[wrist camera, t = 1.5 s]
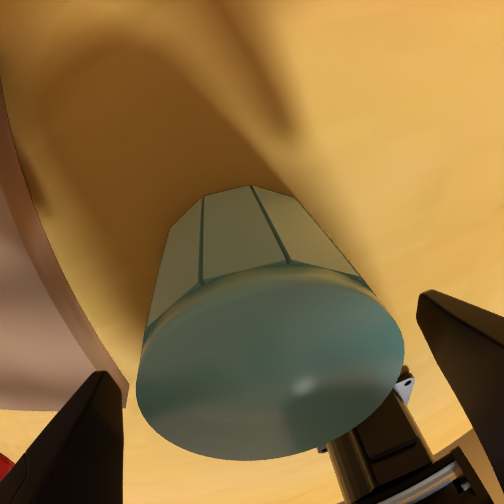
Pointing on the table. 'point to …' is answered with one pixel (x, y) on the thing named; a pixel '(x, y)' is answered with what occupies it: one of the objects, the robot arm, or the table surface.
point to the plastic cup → (5, 466)
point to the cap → (261, 333)
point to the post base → (38, 305)
